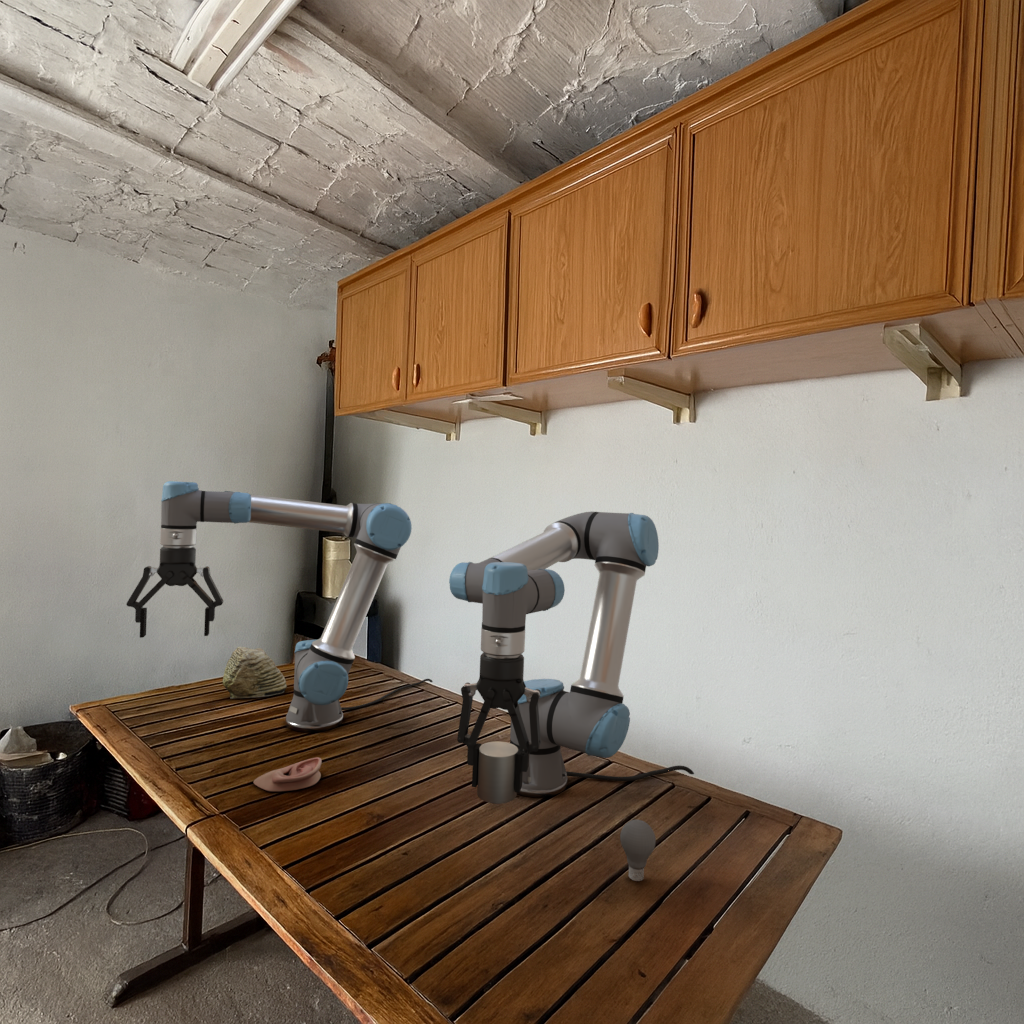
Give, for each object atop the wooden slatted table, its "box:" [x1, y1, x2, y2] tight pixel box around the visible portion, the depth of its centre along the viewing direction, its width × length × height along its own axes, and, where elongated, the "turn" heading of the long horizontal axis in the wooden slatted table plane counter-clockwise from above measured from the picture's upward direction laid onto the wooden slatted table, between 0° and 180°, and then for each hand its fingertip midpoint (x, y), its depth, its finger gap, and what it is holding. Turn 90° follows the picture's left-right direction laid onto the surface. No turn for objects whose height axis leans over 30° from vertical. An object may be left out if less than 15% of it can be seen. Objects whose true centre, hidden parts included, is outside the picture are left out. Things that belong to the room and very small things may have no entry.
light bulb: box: [619, 819, 657, 882], centre depth 109 cm, size 6×6×10 cm
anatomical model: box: [253, 757, 323, 792], centre depth 140 cm, size 13×4×12 cm
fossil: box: [222, 646, 288, 699], centre depth 198 cm, size 9×18×15 cm, turn 132°
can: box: [476, 741, 518, 805], centre depth 109 cm, size 7×7×8 cm
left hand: (175, 635), depth 150 cm, fingers open, 13 cm apart
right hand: (497, 786), depth 109 cm, fingers closed on can, 7 cm apart
